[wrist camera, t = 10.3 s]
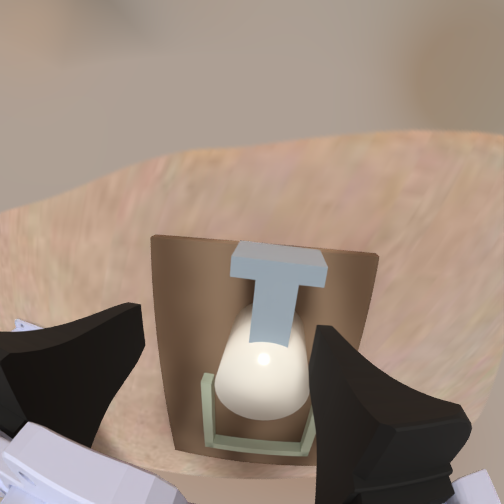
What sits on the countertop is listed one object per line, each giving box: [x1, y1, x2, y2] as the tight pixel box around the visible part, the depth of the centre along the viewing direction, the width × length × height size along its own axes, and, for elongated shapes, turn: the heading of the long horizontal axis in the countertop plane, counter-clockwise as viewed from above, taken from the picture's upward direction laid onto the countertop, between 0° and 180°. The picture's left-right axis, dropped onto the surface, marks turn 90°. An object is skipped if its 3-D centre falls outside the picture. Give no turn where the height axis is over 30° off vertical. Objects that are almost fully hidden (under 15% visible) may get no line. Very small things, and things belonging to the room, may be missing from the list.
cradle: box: [201, 373, 316, 456], centre depth 22 cm, size 10×9×1 cm
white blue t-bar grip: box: [215, 240, 328, 420], centre depth 16 cm, size 9×5×6 cm, turn 174°
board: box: [151, 235, 379, 466], centre depth 22 cm, size 15×23×1 cm, turn 176°
